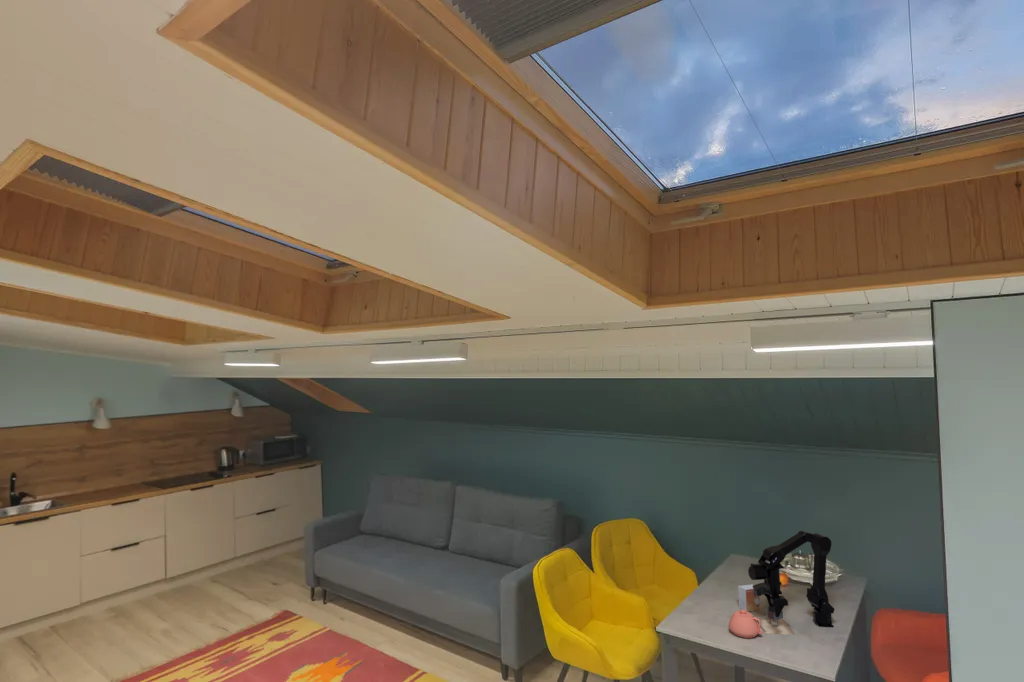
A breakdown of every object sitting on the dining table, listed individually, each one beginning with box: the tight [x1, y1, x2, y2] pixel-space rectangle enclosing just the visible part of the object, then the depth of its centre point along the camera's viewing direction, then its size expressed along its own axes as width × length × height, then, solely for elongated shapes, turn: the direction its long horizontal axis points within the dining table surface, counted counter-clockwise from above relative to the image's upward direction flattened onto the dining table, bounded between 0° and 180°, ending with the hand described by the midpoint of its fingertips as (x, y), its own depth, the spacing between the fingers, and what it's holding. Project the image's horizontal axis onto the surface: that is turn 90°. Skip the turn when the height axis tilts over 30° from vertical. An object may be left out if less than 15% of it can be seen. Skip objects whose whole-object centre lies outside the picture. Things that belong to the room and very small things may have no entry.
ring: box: [765, 605, 784, 620], centre depth 248 cm, size 6×6×3 cm
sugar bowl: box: [728, 608, 764, 640], centre depth 242 cm, size 12×14×10 cm
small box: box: [737, 583, 761, 613], centre depth 269 cm, size 8×6×10 cm
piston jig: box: [756, 618, 795, 636], centre depth 248 cm, size 12×12×6 cm
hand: (774, 613), depth 248 cm, fingers closed on ring, 6 cm apart
